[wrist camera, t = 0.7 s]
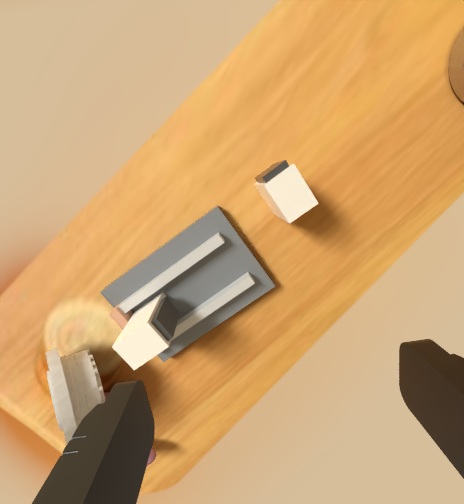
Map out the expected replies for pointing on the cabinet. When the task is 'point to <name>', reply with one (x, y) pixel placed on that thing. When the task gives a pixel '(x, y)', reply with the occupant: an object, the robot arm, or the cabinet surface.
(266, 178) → the cream block
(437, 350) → the robot arm
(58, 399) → the mechanical component
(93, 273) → the cabinet surface
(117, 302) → the rail mount
